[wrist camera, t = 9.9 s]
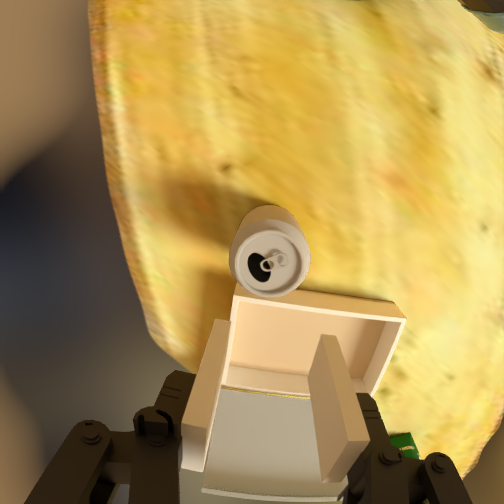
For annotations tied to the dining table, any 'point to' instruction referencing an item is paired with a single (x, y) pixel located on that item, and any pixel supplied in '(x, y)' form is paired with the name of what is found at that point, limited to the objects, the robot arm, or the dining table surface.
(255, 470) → the lid
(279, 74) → the dining table surface
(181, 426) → the robot arm
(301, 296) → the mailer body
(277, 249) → the can
